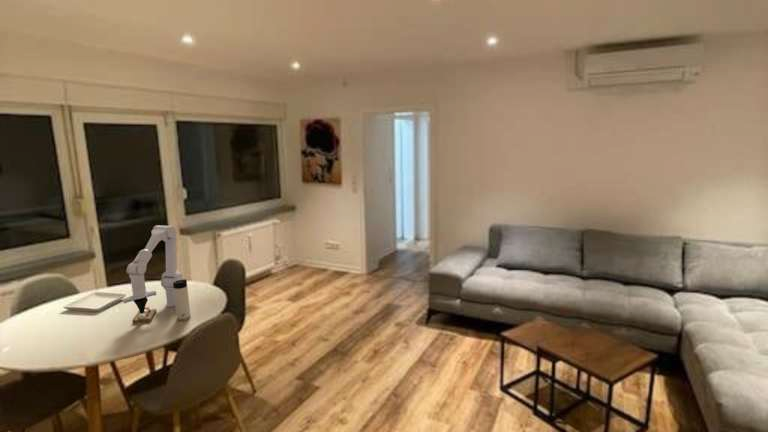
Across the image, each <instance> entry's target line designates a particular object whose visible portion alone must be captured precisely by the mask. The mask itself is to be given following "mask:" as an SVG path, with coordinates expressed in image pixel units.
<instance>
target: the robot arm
mask: <svg viewBox="0 0 768 432" xmlns="http://www.w3.org/2000/svg"><path fill="white" fill-rule="evenodd" d="M177 231H178V230H177V228H176V226H175V227H174V225H159V224H157V225H155V226H153V228H152V230H151V236H150V238H149V240H148V242H147V244H146V245H145V247H144V248H143V249H141V250H140V251H138V253H137V254H136V257H135V259H134V260H133V261H132V262H131V263H129V264H128V265H127V267H126V274H128V277H129V278H130V285H131V292H132V295H130V296H128V297H124V298H123V299H122V304H127V303H129V302H134V304H135V305H136V307H137V308H138V311H140V313H141V314H142V313H144V310H145V307H146V305H147V303H148V298H150V297H152V296H158V294H157V291H156V290H151V291H147V289H146V281H145V273H146V272H147V266H148V263H149V261H150V260H151V258H152V256H153V253H152V252H153V250H154V249H155V248H156V247H157V245H158V244H159V243H160V241H163V242H164V243H165V271H164V272H163V273H162V274H161V280H160V285H161V287H162V288H163V289H164V290H165V299H166V303H165V305H164V306H165V308H170V307H175V298H174V289H173V282H176V281H178V280H183V277H182V275H183V274H182V273H181V272H180V271H178V256H177V255H178V254H177V253H178V252H177V251H178V245H177V244H178V243H177V239H178V238H177V236H178V235H177V233H178V232H177Z"/></svg>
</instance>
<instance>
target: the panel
mask: <svg viewBox="0 0 768 432" xmlns="http://www.w3.org/2000/svg"><path fill="white" fill-rule="evenodd" d="M149 310H150V313H149V314H148V316H147V317H146V319H139V315H140V314H141V313H140V311H139V310H138V311H137V313H136V314H135V315H134V316H133V317H134V318H133V319H132V325H138V324H147V323H152V322H153V320H154V317H155V316H156V314H157V309H156V308H154V309H149Z"/></svg>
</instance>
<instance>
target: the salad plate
mask: <svg viewBox="0 0 768 432" xmlns="http://www.w3.org/2000/svg"><path fill="white" fill-rule="evenodd" d="M126 296H127V294H126V293H117V292H102V291H101V292H100V291H99V292H98V291H94V292H91V293H90V294H87V295H86V296H85V295H84V296H83V297H81V298H78V299H76V300H74V301H72V302H70V303H68V304H66V305H63V307H62V308H64V309H65V310H70V311H80V312H81V311H82V312H83V311H84V312H99V311H101V310H104V309H105V308H107V307H109V306H112V305H114V304H116V303H117V302H119V301H121V300H123V299H124V298H126Z"/></svg>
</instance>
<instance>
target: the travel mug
mask: <svg viewBox="0 0 768 432" xmlns="http://www.w3.org/2000/svg"><path fill="white" fill-rule="evenodd" d="M182 279H183V278H182ZM173 289H174V298H175V306H174V307H175V314H176V320H177V321H180V322H181V321H186V320H189V319H190V318H191V311H190V310H191V308H190V299H189V291H188V290H189V289H188V281H187V279H185V278H184V279H183V280H178V281H176V282H173Z"/></svg>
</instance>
